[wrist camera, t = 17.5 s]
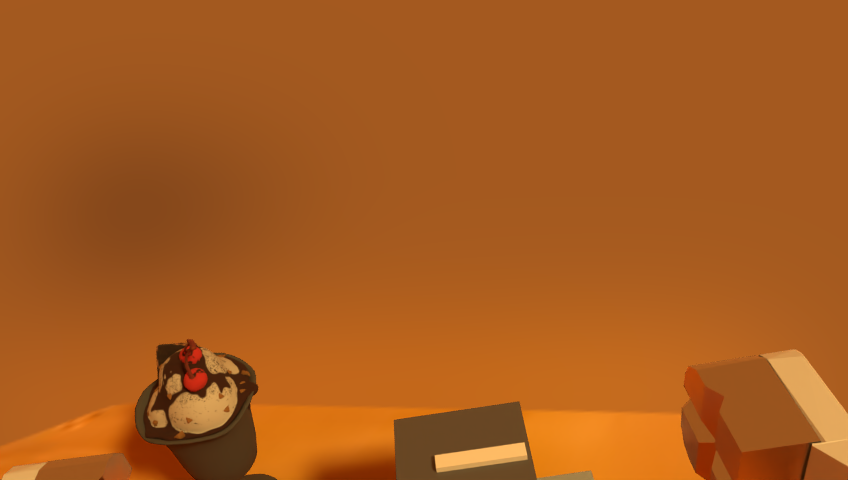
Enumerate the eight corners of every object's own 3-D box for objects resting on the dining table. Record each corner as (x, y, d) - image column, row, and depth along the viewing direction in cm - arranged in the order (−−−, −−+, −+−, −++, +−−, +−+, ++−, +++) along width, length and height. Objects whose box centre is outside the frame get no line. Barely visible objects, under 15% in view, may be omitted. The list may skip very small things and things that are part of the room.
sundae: (290, 554, 43) (212, 371, 35) (180, 559, 44) (77, 381, 35) (309, 461, 49) (245, 283, 40) (210, 467, 49) (127, 293, 41)
